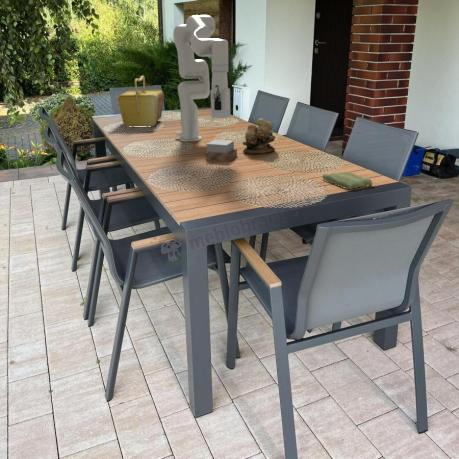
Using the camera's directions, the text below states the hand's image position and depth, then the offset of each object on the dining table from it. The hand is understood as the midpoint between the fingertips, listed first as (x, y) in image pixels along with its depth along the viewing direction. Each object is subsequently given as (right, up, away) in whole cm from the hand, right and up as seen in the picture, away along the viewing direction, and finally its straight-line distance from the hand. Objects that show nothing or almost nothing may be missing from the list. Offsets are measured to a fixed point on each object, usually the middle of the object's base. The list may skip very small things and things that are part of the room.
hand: (220, 108), depth 221 cm
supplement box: (0, -4, +2) cm, 4 cm away
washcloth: (+51, -38, -31) cm, 71 cm away
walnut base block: (0, -22, +9) cm, 24 cm away
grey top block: (0, -19, +7) cm, 20 cm away
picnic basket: (-53, +13, +95) cm, 109 cm away
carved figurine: (+19, -17, +19) cm, 32 cm away
